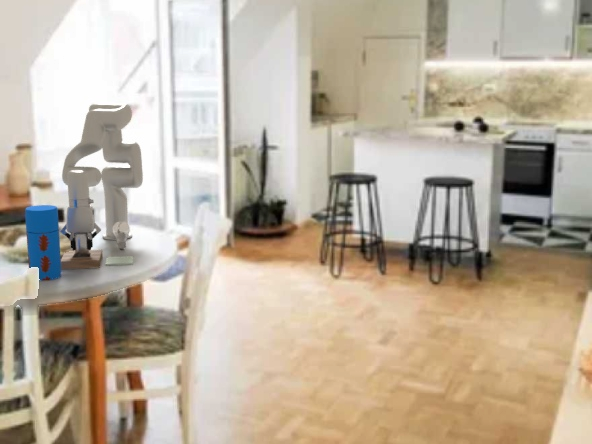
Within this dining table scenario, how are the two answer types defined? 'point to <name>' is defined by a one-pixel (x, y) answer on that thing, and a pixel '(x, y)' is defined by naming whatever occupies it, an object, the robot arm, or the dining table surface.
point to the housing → (81, 260)
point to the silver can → (81, 244)
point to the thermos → (43, 240)
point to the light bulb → (121, 233)
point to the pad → (119, 260)
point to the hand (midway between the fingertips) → (81, 249)
